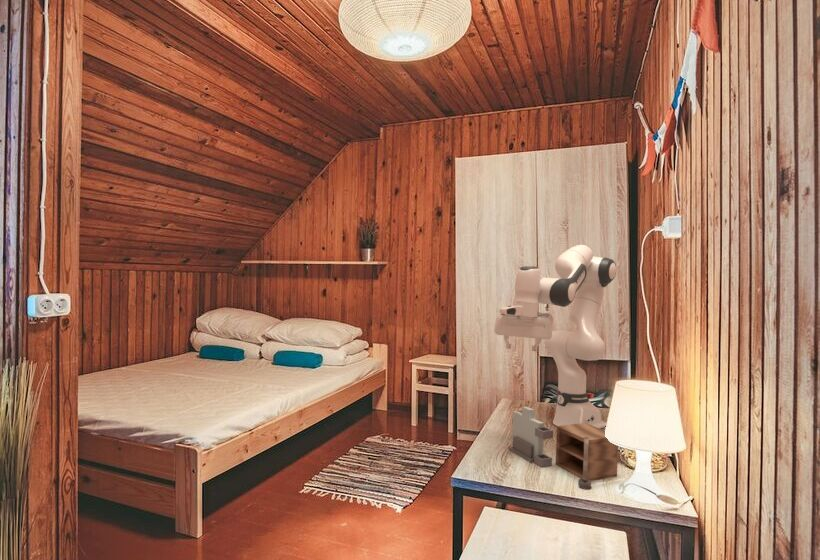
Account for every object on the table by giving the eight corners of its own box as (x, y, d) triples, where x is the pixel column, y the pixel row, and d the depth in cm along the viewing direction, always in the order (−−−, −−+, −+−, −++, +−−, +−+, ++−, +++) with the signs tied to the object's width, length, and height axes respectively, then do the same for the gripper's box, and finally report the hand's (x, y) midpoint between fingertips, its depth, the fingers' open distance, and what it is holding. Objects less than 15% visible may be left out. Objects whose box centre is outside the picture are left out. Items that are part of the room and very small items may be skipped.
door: (518, 447, 174) (520, 402, 174) (551, 465, 158) (553, 416, 158) (509, 448, 173) (511, 403, 173) (541, 467, 157) (543, 417, 157)
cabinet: (583, 461, 165) (585, 416, 164) (625, 482, 149) (627, 433, 148) (545, 467, 158) (547, 421, 158) (584, 490, 142) (586, 438, 142)
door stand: (522, 449, 174) (523, 433, 174) (545, 461, 163) (545, 445, 163) (508, 451, 171) (509, 435, 171) (530, 464, 160) (531, 447, 160)
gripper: (550, 313, 178) (546, 351, 178) (495, 308, 177) (491, 346, 177) (556, 314, 172) (552, 353, 172) (499, 308, 171) (495, 348, 170)
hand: (521, 349), depth 174 cm, fingers open, 8 cm apart
